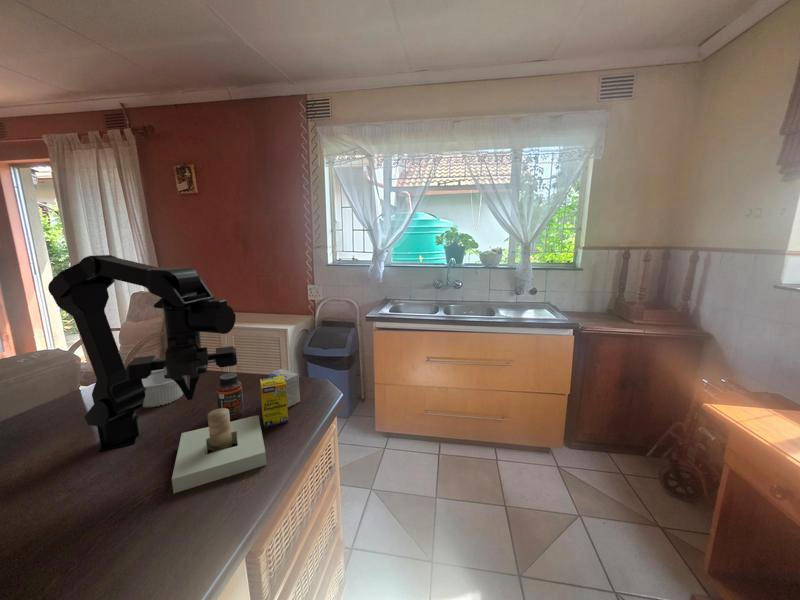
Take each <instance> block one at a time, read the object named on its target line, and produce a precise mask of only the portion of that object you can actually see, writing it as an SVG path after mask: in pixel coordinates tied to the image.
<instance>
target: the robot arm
mask: <svg viewBox="0 0 800 600" xmlns="http://www.w3.org/2000/svg"><path fill="white" fill-rule="evenodd" d="M115 280H116V281H121V282H123V283H128V284H133V285H136V286H141V287H144V288H146V289H147V291H148V292H149V293H150V294H152V295H154V296H157V297H159V298H160V299H159V300H158V301H156V302H155V304H153V307H154V308H155V309H163V317H164V326H165V336H166V345H167V346H166V350H165V355H164V356H165V358H163V359H157V357H156V355H154V354H153V355H148V356H140V357H138V356H137V357H133V359H131V361H130V362H129V364H128V365H127V366H126V367H125V363H124V361H123V359H122V355H121V353H120V351H119V350H120V349H119V347H118V345H117V342H116V339H115V337H114V334H113V331H112V328H111V325H110V322H109V320H108V318H107V314H106V312H105V309H106V306H107V304H108V301H109V298H110V296H109V291H108V288H109V287H111V286H112V285H113V284H114V283H115ZM47 287H48V291H49V294H50V295H51V296H52V298H53V299H54V302H55V304H56V305H57V307H58V308H60V309H62V310H63V311H64V312H66V313H67V314H69V315H70V316H71V317H72V318H73V320H74V323H75V325H76V327H77V330H78V332H79V336H80V338H81V341H82V344H83V347H84V349H85V351H86V354H87V357H88V360H89V362H90V364H91V367H92V369H93V370H92V371H93V373H94V375H95V378H96V381H95V384H94V386H93V390H92V393H91V398H92V401H93V405H92V406H91V408H89V410H88V411H87V412H86V413H85V415H84V419H85V421H86V424H87V425H88V426H93V427H96V428H97V433H98V439H99V446H98V448H97V451H98V452H102V451H106V450H111V449H116V448H119V447H124V446H128V445H133V444H135V443H136V442H137V440H138V437H139V436H140V435H141V434H142V433H141V432H142V424H141V423H142V422H141V417H140V415H138V414H137V411H138V410H141V409H142V408H144V407H143V402H144V398H145V390H146V388H145V387H144V385H143V383H142V379H145V378H147V377H148V376H150V375H151V373H152V371H156V370H162V369H164V371H165V375H164V378H165V379H172V380H174V381H175V382H176V383H177V384H178V386H179V387H180V388H181V390H182V392H183V393H184V394H183V395H184V396H185V398H186V400H187V401H192V400H193V398H194V395H195V392H196V391H195V390H196V386H197V383H198V381H199V379H200V377H201V375H202V374H206V373H207V372H208V367H209V364H211V363H215V364H216V366H217V367H219V368H228V367H234V366H236V365H238V359H237V350H236V347H235V346H223V347H215V352H214V353H209V352H208V347H205V346H204V347H202V341H201V333H209V334H219V335H226V334H229V333H230V332H231V331H232V330H233V328H234V326H235V325H236V317H237V316H236V313H235V312H234V309H233V308H232V307H231V306H230V305H228V301H227V299H222V298H220V299H215V297H214V295H213V293H212V292H211V291H210V290H209V287H208V286H207V285H206V284H205V282H204V281H203V280H202V279H201V277H200V275H199V274H198V271H197V270H196V269H194V268H191V267H159V266H153V265H150V264H145V263H140V262H137V261H133V260H128V259H124V258H119V257H117V256H115V255H110V254H101V255H100V254H99V255H98V254H97V255H88V256H85V257H83V258H82V259H81V260H80V261H79V262H78V263H76V264H73V265H72V266H70V267H67V268H65V269H62V270H61V271H60V272H59V273H57V275H55V276H54V277H53V278H52V280H51V281H50V282H49V283H48V286H47ZM188 376H189V378H190V379H189V380H188Z"/></svg>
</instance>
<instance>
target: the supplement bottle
mask: <svg viewBox="0 0 800 600" xmlns="http://www.w3.org/2000/svg"><path fill="white" fill-rule="evenodd" d="M215 392H216V400H217V401H216V402H217V409H220V408H226V409H228V410H229V416H230V421H231V420H235V419H237V418H239V417H241V416H242V415H243V414H244V400H243V399H244V397H243V386H242V382H241V381H240V380H238V374H237V373H235V372H229V373H223V374H222V375H220V376H219V384H217V386H216V391H215Z"/></svg>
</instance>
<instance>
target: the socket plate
mask: <svg viewBox="0 0 800 600" xmlns="http://www.w3.org/2000/svg"><path fill="white" fill-rule="evenodd" d="M259 416H260V415H259V414H258V415H254V416H253V415H252V416H249V417H244V418H239V419H236V420H233V421H231V420H230V426H231V436H232V445H234V444H237V445H235V446H231V448H228V449H224V450H220V451H216V452H210V453H208V452H209V451H212V450H211V446H210V434H209V426H206V427H202V428H198V429H197V428H196V429H195V430H189V431H185V432H181V435H180V439H179V443H178V448H177V453H176V458H175V463H174V467H173V472H172V476H171V483H172V484H171V485H172V490H173V494H176V493H180V492H182V491H186V490H189V489H193V488H196V487H200V486H202V485H205V484H208V483H213V482H215V481H218V480H221V479H222V480H223V479H224V478H228V477H232V476H234V475H238V474H240V473H245V472H247V471H251V470H254V469H257V468H260V467H263V466H267V453H266V447H265V442H264V438H263V432H262V427H261V422H260V417H259Z"/></svg>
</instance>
